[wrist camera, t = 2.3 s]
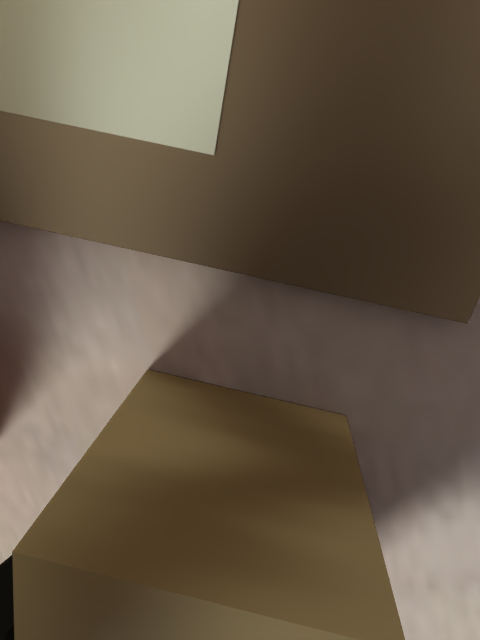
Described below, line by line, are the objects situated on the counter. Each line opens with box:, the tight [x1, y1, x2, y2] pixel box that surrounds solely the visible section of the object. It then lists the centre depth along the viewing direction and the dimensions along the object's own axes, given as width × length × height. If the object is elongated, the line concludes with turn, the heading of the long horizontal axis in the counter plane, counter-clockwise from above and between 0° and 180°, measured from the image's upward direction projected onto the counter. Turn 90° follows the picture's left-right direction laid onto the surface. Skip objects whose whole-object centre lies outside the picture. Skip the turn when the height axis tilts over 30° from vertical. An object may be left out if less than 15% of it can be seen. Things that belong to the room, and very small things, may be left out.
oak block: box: [12, 370, 405, 640], centre depth 8 cm, size 5×7×5 cm
